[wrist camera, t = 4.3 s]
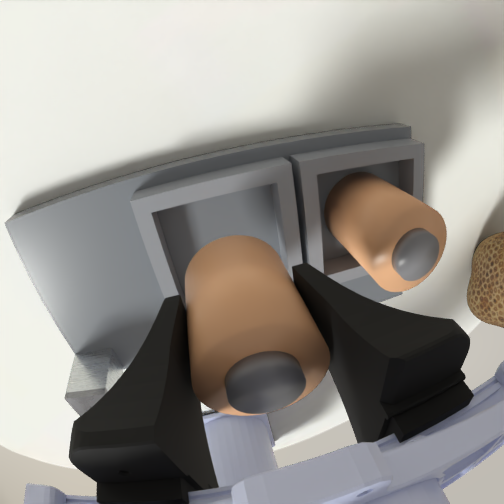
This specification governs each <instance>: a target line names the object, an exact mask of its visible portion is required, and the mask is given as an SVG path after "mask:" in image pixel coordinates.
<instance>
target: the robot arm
mask: <svg viewBox="0 0 504 504" xmlns="http://www.w3.org/2000/svg"><path fill="white" fill-rule="evenodd" d="M292 272H293V281H294V284H295V286H296V288H297V290H298V292H299V293H300V295H301V297H302V299H303V301H304V303H305V305H306V306H307V308H308V310H309V312H310V314H311V316H312V318H313V319H314V321H315V323H316V325H317V327H318V329H319V331H320V333H321V335H322V336H323V338H324V340H325V342H326V344H327V346H328V348H329V352H330V364H329V367H328V369H329V371H330V373H331V375H332V377H333V380H334V382H335V384H336V387H337V389H338V392H339V394H340V396H341V399H342V402H343V404H344V407H345V409H346V412H347V414H348V417H349V420H350V422H351V425H352V428H353V431H354V433H355V437H356V439H357V443H358V444H354V445H351V446H347V447H344V448H341V449H339V450H336V451H333V452H330V453H327V454H324V455H322V456H318V457H315V458H312V459H309V460H306V461H302V462H299V463H296V464H292V465H289V466H285V467H282V468H278V466H277V463H276V459H275V456H274V452H273V449H272V447H274V446H275V442H274V439H273V435H272V431H271V428H270V424H269V420H268V417H267V413H265V414H260V415H250V416H238V415H230V414H225V413H221V412H219V413H214V414H209V415H204V416H202V411H201V402H200V400H199V399H198V398H197V396H196V395H195V393H194V391H193V388H192V382H191V371H190V359H189V346H188V332H187V316H186V309H185V307H184V304H183V301H182V298H181V296H180V295H176V296H171V297H167V298H165V299H164V301H163V303H162V305H161V308H160V310H159V312H158V314H157V316H156V319H155V321H154V323H153V325H152V327H151V329H150V331H149V333H148V335H147V337H146V339H145V341H144V342H143V344H142V346H141V348H140V349H139V351H138V353H137V354H136V356H135V358H134V359H133V361H132V362H131V364H130V365H129V366H128V368H127V369H126V371H125V372H124V373H123V374H122V376H121V377H120V378H119V379H118V380H117V382H116V383H115V384H114V385H113V386H112V388H111V389H110V390H109V391H108V392H107V393H106V394H105V395H104V396H103V397H102V398H101V399H100V400H99V401H98V402H97V403H96V404H95V405H94V406H92V407H91V408H90V409H89V410H88V411H87V412H85V413H84V414H83V415H82V416H80V417H79V418H78V419H77V420H75V421H74V424H73V428H72V433H71V441H70V450H69V459H70V461H71V462H72V463H73V465H75V466H76V467H77V468H78V469H79V470H80V471H82V472H83V473H84V474H86V475H87V476H89V477H90V478H92V479H93V480H94V481H96V482H97V496H75V495H65V494H64V493H63V492H62V491H60V490H59V489H57V488H54V487H52V486H47V485H37V484H30V483H28V484H26V490H25V499H24V504H450V503H449V501H448V499H447V497H446V496H445V494H444V492H443V490H442V489H444V488H445V487H447V486H448V485H450V484H451V483H453V482H454V481H456V480H457V479H459V478H460V477H462V476H463V475H465V474H466V473H467V472H469V471H470V470H472V469H473V468H474V467H476V466H477V465H478V464H480V463H481V462H482V461H484V460H485V459H486V458H488V457H489V456H490V455H491V454H493V453H494V452H495V451H496V450H497V449H499V448H500V447H501V446H502V445H504V361H503V362H502V363H501V364H500V366H499V367H498V369H497V370H496V373H495V376H493V377H492V378H490V379H489V380H487V381H486V382H484V383H483V384H482V385H480V386H478V387H477V388H475V389H474V390H472V391H471V390H470V389H469V388H468V386H467V385H466V384H465V382H464V381H463V380H465V374H464V373H463V372H462V371H461V367H462V365H463V363H464V360H465V358H466V356H467V353H468V350H469V347H470V338H469V336H468V335H467V334H466V333H465V332H464V330H463V329H462V328H461V327H460V326H459V325H458V324H457V323H456V322H455V321H454V320H453V319H444V318H436V317H429V316H423V315H419V314H414V313H410V312H406V311H402V310H399V309H396V308H392V307H389V306H386V305H383V304H381V303H378V302H376V301H373V300H371V299H368V298H366V297H364V296H362V295H360V294H358V293H356V292H354V291H352V290H350V289H348V288H346V287H345V286H343V285H341V284H339V283H338V282H336V281H334V280H333V279H331V278H330V277H328V276H326V275H325V274H323V273H322V272H320V271H319V270H317V269H316V268H314V267H313V266H311V265H310V264H308V263H303V264H299V265H295V266H292Z"/></svg>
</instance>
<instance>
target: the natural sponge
mask: <svg viewBox="0 0 504 504" xmlns="http://www.w3.org/2000/svg"><path fill="white" fill-rule="evenodd" d="M467 302H468V306H469V308H470V310H471V312H472V313H473V314H474V315H475V316H476V317H477V318H478V319H480V320H481V321H483V322H485V323H488V324H492V325H496V326H500V327H503V328H504V232H501V233H497V234H494V235H492V236H490V237H488V238H486V239H485V240H483V241H482V242H481V243H480V244H479V245H478V247H477V249H476V251H475V253H474V256H473V260H472V273H471V277H470V281H469V285H468V290H467Z"/></svg>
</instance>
